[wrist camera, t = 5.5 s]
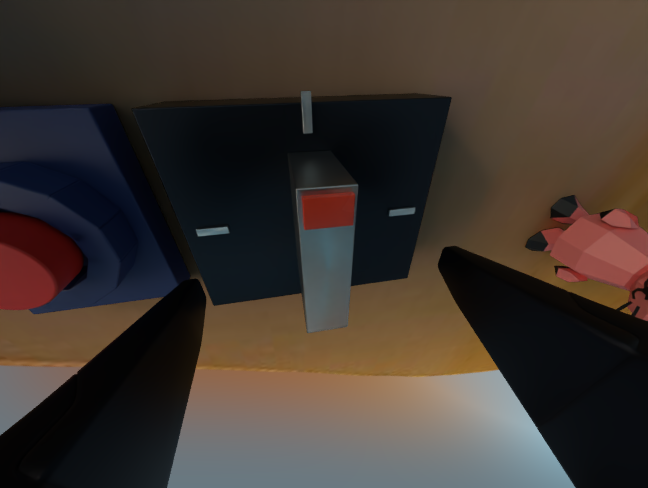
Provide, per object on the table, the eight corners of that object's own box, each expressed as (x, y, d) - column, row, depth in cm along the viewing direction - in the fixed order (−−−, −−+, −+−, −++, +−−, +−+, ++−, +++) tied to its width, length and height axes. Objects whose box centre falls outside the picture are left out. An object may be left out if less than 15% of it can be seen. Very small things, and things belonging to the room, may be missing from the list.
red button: (14, 286, 11) (-25, 317, 9) (-60, 216, 9) (-124, 242, 7) (101, 275, 11) (77, 303, 10) (51, 207, 9) (11, 229, 8)
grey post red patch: (329, 268, 14) (349, 331, 10) (298, 272, 13) (307, 338, 10) (330, 150, 10) (361, 187, 7) (287, 152, 10) (296, 192, 6)
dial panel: (223, 276, 16) (214, 312, 14) (159, 92, 10) (122, 96, 8) (388, 254, 18) (407, 284, 16) (417, 84, 12) (457, 87, 9)
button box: (55, 293, 15) (4, 343, 12) (-117, 110, 9) (-289, 124, 6) (191, 276, 16) (173, 318, 13) (113, 103, 10) (52, 112, 7)
